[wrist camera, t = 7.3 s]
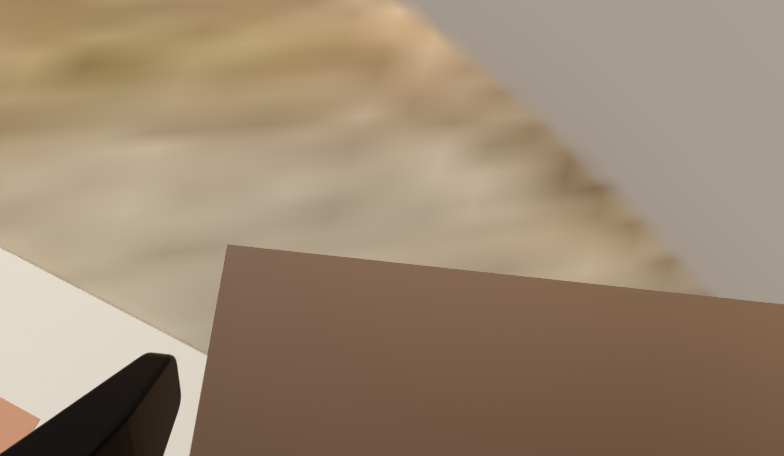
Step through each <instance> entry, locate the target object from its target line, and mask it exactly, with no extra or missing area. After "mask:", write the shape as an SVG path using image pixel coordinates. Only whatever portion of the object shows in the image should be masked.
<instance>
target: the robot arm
mask: <svg viewBox="0 0 784 456" xmlns="http://www.w3.org/2000/svg"><path fill="white" fill-rule="evenodd" d="M180 402H181V389H180V381H179V374H178V366H177V361H176V358H175V357H174V356H173V355H171V354H162V353H153V352H149V353H145V354H143V355H141V356H140V357H139V358H137V359H136V360H134V361H133V362H131V363H130V364H128V365H127V366H126V367H124V368H123V369H121V370H120V371H118V372H117V373H115V374H114V375H113V376H111V377H110V378H108V379H107V380H105V381H104V382H103V383H101V384H100V385H98V386H97V387H95V388H94V389H92V390H91V391H90V392H88V393H87V394H85V395H84V396H82V397H81V398H79V399H78V400H77V401H75V402H74V403H72V404H71V405H69V406H68V407H67V408H65V409H64V410H62V411H61V412H59V413H58V414H56V415H55V416H54V417H52V418H51V419H49V420H48V421H46V422H45V423H44V424H42V425H41V426H39V427H38V428H36V429H35V430H33V431H32V432H31V433H29V434H28V435H26V436H25V437H23V438H22V439H20V440H19V441H18V442H16V443H15V444H13V445H12V446H10V447H9V448H8V449H6V450H5V451H3V452H2V453H0V456H163V455H164V452H165V449H166V446H167V443H168V440H169V438H170V435H171V432H172V429H173V426H174V423H175V420H176V417H177V414H178V411H179V407H180Z"/></svg>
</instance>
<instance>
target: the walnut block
mask: <svg viewBox="0 0 784 456" xmlns="http://www.w3.org/2000/svg"><path fill="white" fill-rule="evenodd" d="M189 456H784V305H783V304H773V303H764V302H755V301H745V300H736V299H726V298H718V297H708V296H699V295H690V294H681V293H671V292H662V291H653V290H644V289H634V288H625V287H616V286H606V285H597V284H588V283H579V282H569V281H560V280H551V279H542V278H532V277H523V276H514V275H504V274H495V273H486V272H477V271H467V270H458V269H449V268H440V267H430V266H421V265H412V264H402V263H393V262H384V261H375V260H365V259H356V258H347V257H338V256H328V255H319V254H310V253H300V252H291V251H282V250H273V249H263V248H254V247H245V246H235V245H227V250H226V256H225V261H224V267H223V272H222V278H221V283H220V289H219V294H218V300H217V306H216V311H215V317H214V322H213V328H212V333H211V339H210V344H209V350H208V355H207V361H206V366H205V372H204V377H203V383H202V388H201V394H200V400H199V405H198V411H197V416H196V422H195V427H194V433H193V438H192V444H191V449H190V455H189Z"/></svg>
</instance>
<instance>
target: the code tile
mask: <svg viewBox="0 0 784 456" xmlns="http://www.w3.org/2000/svg"><path fill="white" fill-rule="evenodd" d="M149 352H153V353H162V354H171V355H173V356H174V357H175V358H176V361H177V366H178V374H179V381H180V389H181V402H180V407H179V411H178V414H177V417H176V420H175V423H174V426H173V429H172V432H171V435H170V438H169V440H168V443H167V446H166V449H165V452H164V455H163V456H189V455H190V449H191V444H192V438H193V433H194V427H195V422H196V416H197V411H198V405H199V400H200V394H201V388H202V383H203V377H204V372H205V366H206V361H207V354H205V353H203V352H201V351H199V350H197V349H196V348H194V347H192V346H190V345H188V344H186V343H184V342H182V341H180V340H178V339H176V338H174V337H173V336H171V335H169V334H167V333H165V332H163V331H161V330H159V329H157V328H155V327H153V326H151V325H149V324H148V323H146V322H144V321H142V320H140V319H138V318H136V317H134V316H132V315H130V314H128V313H126V312H125V311H123V310H121V309H119V308H117V307H115V306H113V305H111V304H109V303H107V302H105V301H103V300H101V299H100V298H98V297H96V296H94V295H92V294H90V293H88V292H86V291H84V290H82V289H80V288H78V287H77V286H75V285H73V284H71V283H69V282H67V281H65V280H63V279H61V278H59V277H57V276H55V275H53V274H52V273H50V272H48V271H46V270H44V269H42V268H40V267H38V266H36V265H34V264H32V263H30V262H28V261H27V260H25V259H23V258H21V257H19V256H17V255H15V254H13V253H11V252H9V251H7V250H5V249H4V248H2V247H0V453H2V452H3V451H5V450H6V449H8V448H9V447H10V446H12V445H13V444H15V443H16V442H18V441H19V440H20V439H22V438H23V437H25V436H26V435H28V434H29V433H31V432H32V431H33V430H35V429H36V428H38V427H39V426H41V425H42V424H44V423H45V422H46V421H48V420H49V419H51V418H52V417H54V416H55V415H56V414H58V413H59V412H61V411H62V410H64V409H65V408H67V407H68V406H69V405H71V404H72V403H74V402H75V401H77V400H78V399H79V398H81V397H82V396H84V395H85V394H87V393H88V392H90V391H91V390H92V389H94V388H95V387H97V386H98V385H100V384H101V383H103V382H104V381H105V380H107V379H108V378H110V377H111V376H113V375H114V374H115V373H117V372H118V371H120V370H121V369H123V368H124V367H126V366H127V365H128V364H130V363H131V362H133V361H134V360H136V359H137V358H139V357H140V356H141V355H143V354H145V353H149Z"/></svg>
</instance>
